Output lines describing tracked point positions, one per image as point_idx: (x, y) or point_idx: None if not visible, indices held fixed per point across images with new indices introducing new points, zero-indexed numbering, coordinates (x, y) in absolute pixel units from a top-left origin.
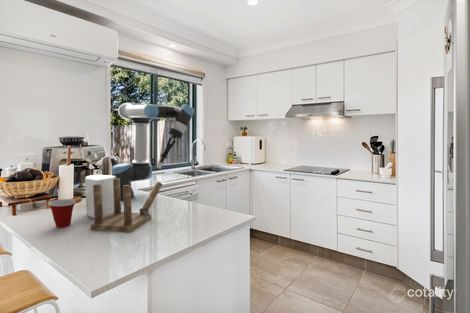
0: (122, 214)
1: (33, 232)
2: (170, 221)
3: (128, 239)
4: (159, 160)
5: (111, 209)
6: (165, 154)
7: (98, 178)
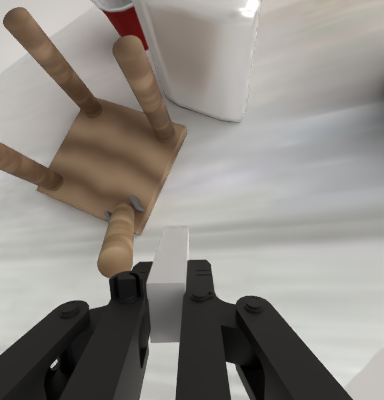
0: (151, 149)
1: None
2: (94, 296)
3: (5, 197)
4: (155, 257)
5: (206, 107)
6: (58, 358)
7: None
